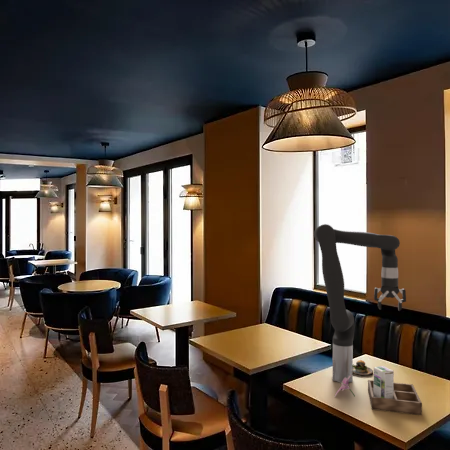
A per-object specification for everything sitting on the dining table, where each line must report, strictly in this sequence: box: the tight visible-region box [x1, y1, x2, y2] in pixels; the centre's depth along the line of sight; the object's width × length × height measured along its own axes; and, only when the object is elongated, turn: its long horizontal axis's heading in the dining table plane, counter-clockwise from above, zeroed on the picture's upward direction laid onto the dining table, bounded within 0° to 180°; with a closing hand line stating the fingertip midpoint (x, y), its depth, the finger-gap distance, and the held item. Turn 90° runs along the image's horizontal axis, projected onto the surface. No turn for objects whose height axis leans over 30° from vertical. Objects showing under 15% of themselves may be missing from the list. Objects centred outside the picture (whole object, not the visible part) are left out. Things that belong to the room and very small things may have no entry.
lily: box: [334, 373, 356, 397], centre depth 172 cm, size 12×12×10 cm
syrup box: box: [373, 365, 395, 399], centre depth 163 cm, size 6×6×14 cm
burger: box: [353, 359, 374, 376], centre depth 198 cm, size 12×12×8 cm
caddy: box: [367, 379, 423, 416], centre depth 166 cm, size 18×18×5 cm
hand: (389, 309), depth 191 cm, fingers open, 8 cm apart
